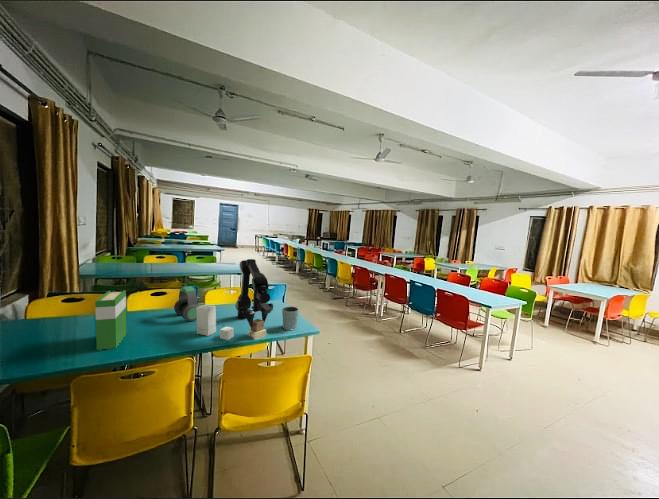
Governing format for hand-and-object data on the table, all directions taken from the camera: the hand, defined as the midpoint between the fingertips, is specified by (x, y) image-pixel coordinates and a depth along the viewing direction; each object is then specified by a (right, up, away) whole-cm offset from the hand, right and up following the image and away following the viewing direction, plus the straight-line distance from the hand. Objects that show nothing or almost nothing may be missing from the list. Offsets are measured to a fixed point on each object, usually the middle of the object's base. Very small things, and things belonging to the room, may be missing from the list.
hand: (257, 324), depth 153 cm
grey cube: (-16, -6, -4) cm, 18 cm away
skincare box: (-29, -5, 0) cm, 30 cm away
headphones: (-50, -1, +20) cm, 54 cm away
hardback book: (-69, -4, -17) cm, 71 cm away
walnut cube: (0, -3, 0) cm, 3 cm away
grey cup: (+16, -6, +15) cm, 23 cm away
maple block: (0, -7, +1) cm, 7 cm away
